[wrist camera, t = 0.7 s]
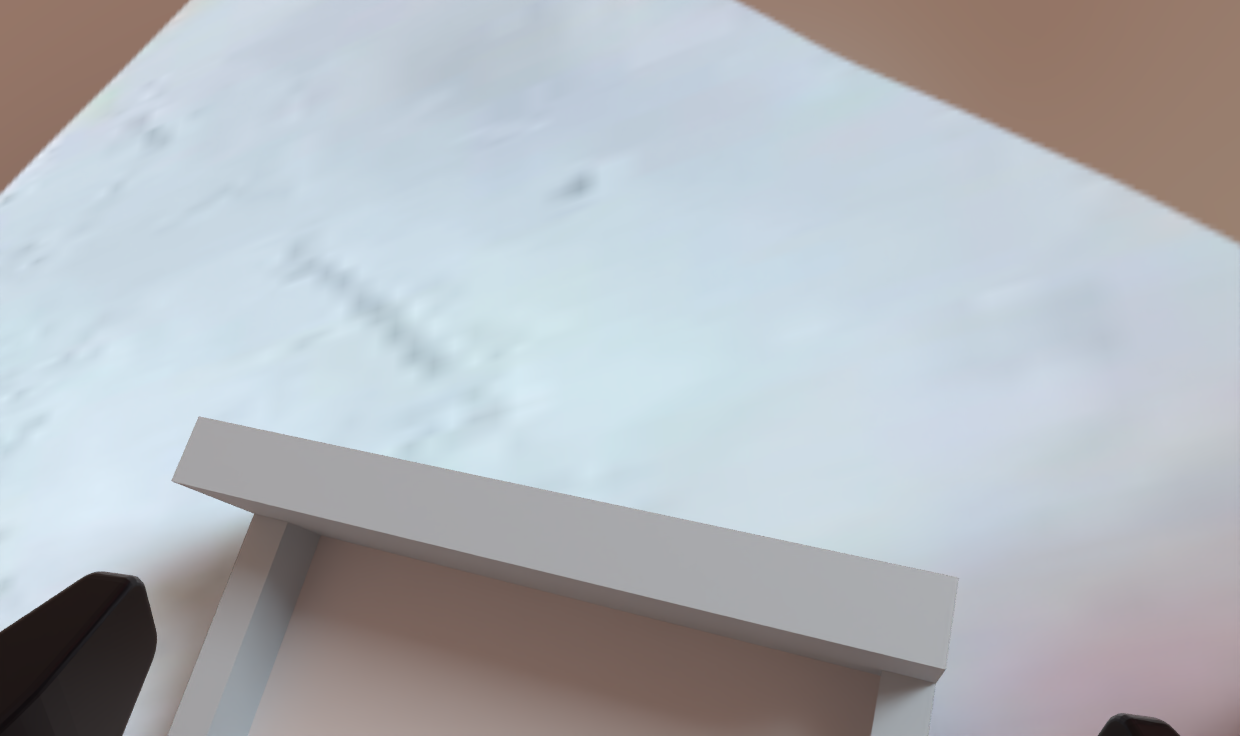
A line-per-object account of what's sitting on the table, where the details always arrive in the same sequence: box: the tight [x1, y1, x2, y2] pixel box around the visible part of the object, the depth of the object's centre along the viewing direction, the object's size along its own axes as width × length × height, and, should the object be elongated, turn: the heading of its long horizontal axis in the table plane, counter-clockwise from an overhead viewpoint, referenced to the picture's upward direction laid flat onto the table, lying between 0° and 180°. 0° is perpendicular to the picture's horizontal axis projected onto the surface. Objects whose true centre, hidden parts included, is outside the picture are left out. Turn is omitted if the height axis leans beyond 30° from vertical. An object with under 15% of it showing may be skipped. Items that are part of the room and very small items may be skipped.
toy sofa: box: [167, 417, 959, 736], centre depth 20 cm, size 7×16×6 cm, turn 75°
